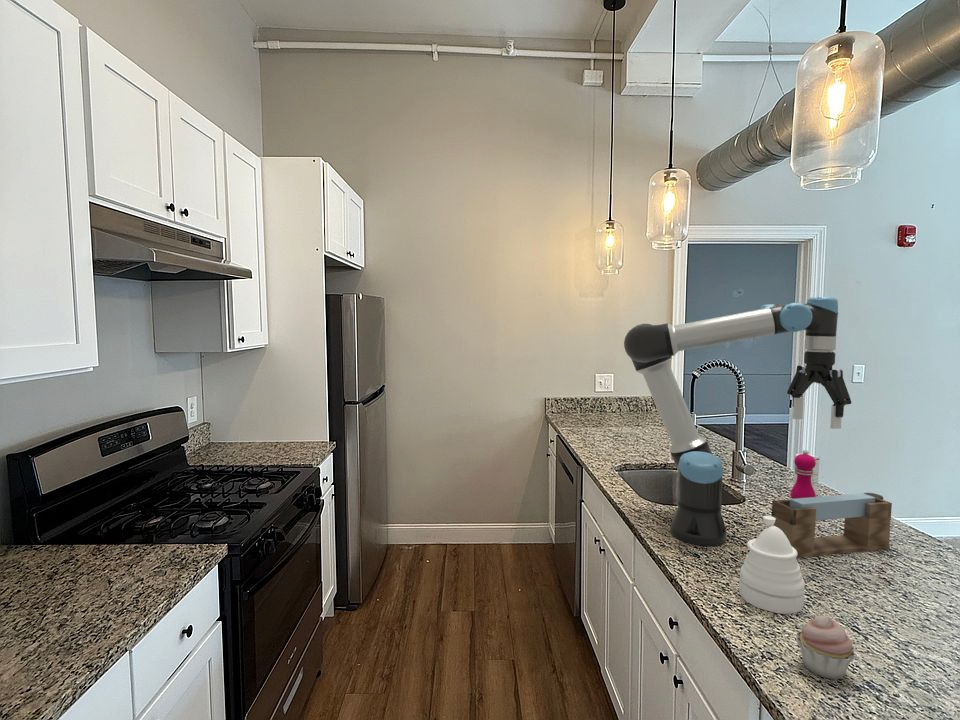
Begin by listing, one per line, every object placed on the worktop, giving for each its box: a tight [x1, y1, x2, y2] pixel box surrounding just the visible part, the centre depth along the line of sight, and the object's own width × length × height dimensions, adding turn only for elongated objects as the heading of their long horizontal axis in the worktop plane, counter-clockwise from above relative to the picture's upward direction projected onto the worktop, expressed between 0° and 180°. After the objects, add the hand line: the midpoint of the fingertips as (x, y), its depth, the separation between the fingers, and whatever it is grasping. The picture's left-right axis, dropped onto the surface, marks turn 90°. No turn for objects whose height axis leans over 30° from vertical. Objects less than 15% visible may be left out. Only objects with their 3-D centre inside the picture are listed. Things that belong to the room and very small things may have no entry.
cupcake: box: [795, 615, 857, 680], centre depth 95 cm, size 9×9×10 cm
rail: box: [789, 492, 875, 522], centre depth 144 cm, size 24×4×5 cm, turn 102°
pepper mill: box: [790, 449, 817, 499], centre depth 174 cm, size 7×7×20 cm
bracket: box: [771, 494, 893, 559], centre depth 145 cm, size 31×8×13 cm, turn 101°
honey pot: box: [738, 515, 806, 615], centre depth 119 cm, size 13×13×18 cm
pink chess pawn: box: [792, 452, 820, 497], centre depth 188 cm, size 6×6×14 cm
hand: (815, 423), depth 153 cm, fingers open, 13 cm apart
